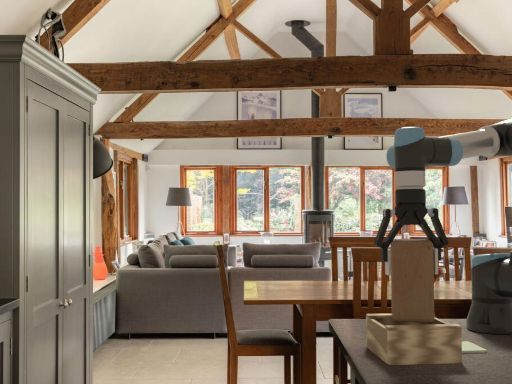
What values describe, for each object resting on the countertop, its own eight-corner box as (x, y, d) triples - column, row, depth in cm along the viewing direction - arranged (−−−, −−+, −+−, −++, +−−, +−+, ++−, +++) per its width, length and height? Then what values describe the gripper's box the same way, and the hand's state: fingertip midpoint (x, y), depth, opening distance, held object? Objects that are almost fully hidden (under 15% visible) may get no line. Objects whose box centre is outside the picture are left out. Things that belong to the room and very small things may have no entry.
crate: (431, 345, 158) (431, 312, 158) (461, 362, 140) (461, 325, 140) (366, 347, 156) (366, 313, 156) (388, 365, 138) (388, 327, 138)
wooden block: (434, 323, 142) (433, 241, 143) (392, 322, 144) (391, 241, 145) (431, 315, 152) (429, 238, 152) (391, 314, 154) (390, 238, 154)
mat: (468, 343, 160) (468, 341, 160) (486, 352, 150) (486, 350, 150) (433, 344, 159) (433, 342, 159) (449, 353, 149) (449, 351, 149)
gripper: (448, 188, 154) (450, 271, 153) (360, 189, 151) (361, 273, 151) (461, 187, 146) (463, 274, 146) (369, 188, 144) (370, 277, 143)
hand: (411, 274), depth 148 cm, fingers closed on wooden block, 11 cm apart
